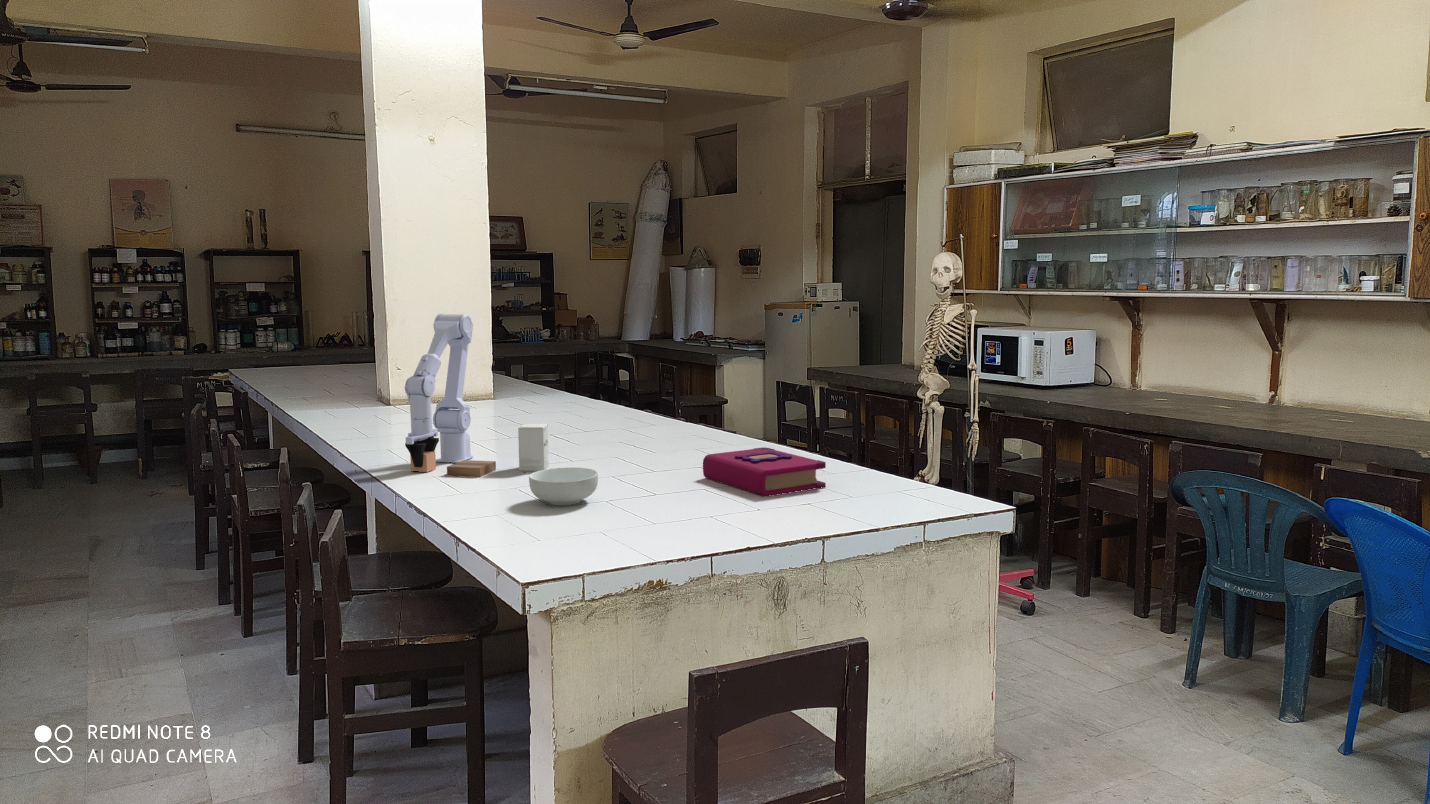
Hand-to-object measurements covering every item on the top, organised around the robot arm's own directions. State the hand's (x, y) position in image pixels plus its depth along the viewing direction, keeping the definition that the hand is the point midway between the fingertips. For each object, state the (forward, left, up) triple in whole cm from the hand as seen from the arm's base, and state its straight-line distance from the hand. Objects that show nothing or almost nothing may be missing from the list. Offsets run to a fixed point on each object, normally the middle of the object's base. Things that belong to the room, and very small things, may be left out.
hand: (423, 465), depth 279 cm
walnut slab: (0, +15, -2) cm, 15 cm away
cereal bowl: (+29, +54, -2) cm, 61 cm away
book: (-2, +98, -2) cm, 98 cm away
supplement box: (-9, +30, -2) cm, 31 cm away
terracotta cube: (0, 0, -1) cm, 1 cm away
